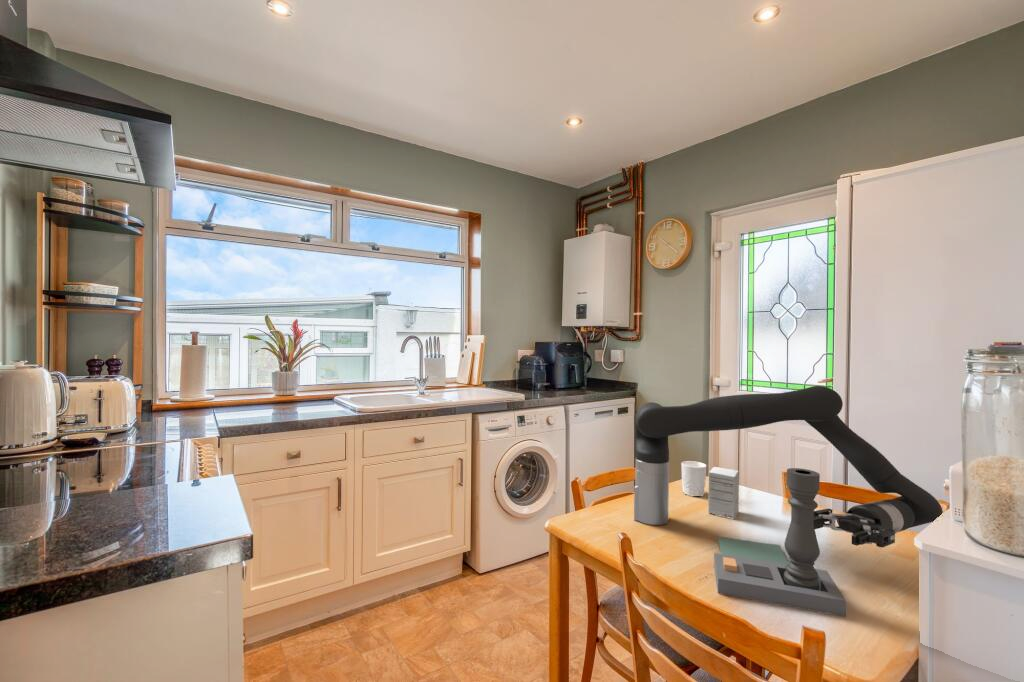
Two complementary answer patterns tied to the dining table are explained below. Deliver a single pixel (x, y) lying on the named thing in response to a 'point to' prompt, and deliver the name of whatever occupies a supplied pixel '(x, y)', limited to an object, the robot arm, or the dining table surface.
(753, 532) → the dining table surface
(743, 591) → the grey compartment tray
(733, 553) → the mat
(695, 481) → the white cup
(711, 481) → the supplement box
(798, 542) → the candle holder
